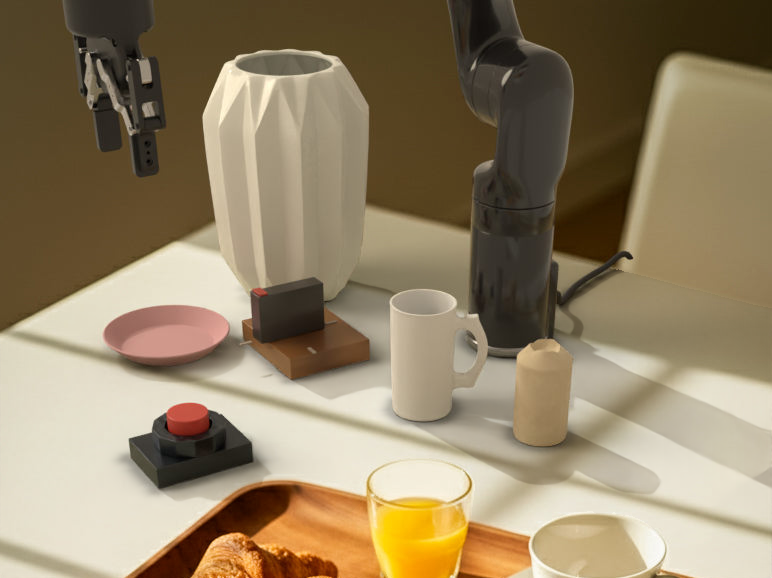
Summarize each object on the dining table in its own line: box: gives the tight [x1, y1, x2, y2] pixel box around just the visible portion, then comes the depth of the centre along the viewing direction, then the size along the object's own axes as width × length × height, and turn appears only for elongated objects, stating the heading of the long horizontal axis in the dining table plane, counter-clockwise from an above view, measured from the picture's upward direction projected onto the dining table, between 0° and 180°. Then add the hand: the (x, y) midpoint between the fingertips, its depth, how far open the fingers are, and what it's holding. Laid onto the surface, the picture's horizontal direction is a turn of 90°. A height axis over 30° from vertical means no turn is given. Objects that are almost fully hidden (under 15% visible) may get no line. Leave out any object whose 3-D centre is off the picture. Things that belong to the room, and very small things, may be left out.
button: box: [166, 402, 210, 436], centre depth 130 cm, size 4×4×2 cm
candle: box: [512, 339, 574, 447], centre depth 135 cm, size 6×6×10 cm
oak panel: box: [239, 306, 371, 381], centre depth 152 cm, size 13×12×3 cm
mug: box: [389, 288, 488, 422], centre depth 139 cm, size 10×7×12 cm, turn 84°
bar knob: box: [249, 277, 325, 344], centre depth 150 cm, size 8×2×6 cm, turn 122°
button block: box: [128, 409, 254, 490], centre depth 132 cm, size 10×7×4 cm
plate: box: [102, 304, 231, 367], centre depth 154 cm, size 14×14×2 cm
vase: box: [202, 48, 370, 302], centre depth 161 cm, size 20×20×27 cm
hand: (127, 162), depth 122 cm, fingers open, 8 cm apart
